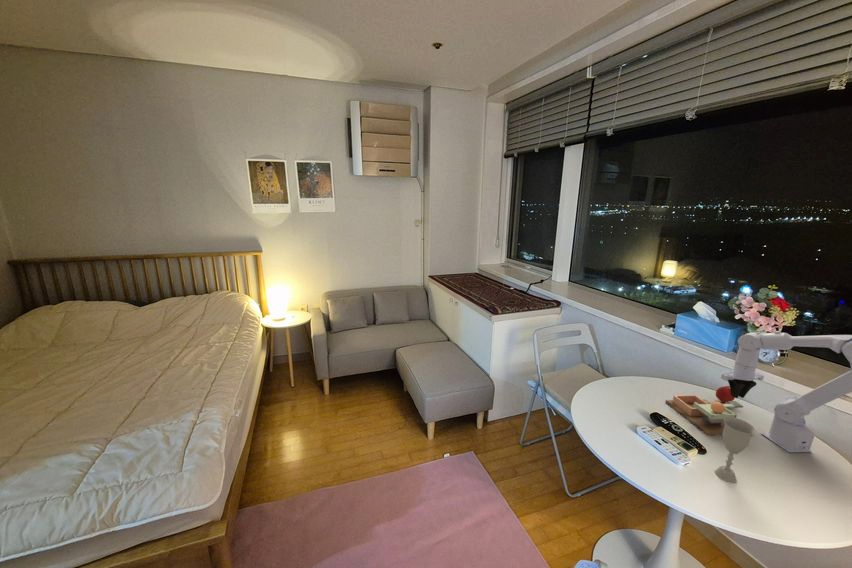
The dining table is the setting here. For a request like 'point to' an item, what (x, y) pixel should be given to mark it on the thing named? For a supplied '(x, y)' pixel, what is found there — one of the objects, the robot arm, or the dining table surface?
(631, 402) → the dining table surface
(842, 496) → the dining table surface
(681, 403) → the orange open box
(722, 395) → the onion
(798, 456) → the dining table surface
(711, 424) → the base board
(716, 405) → the ball
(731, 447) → the chalice
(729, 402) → the tipping tray
